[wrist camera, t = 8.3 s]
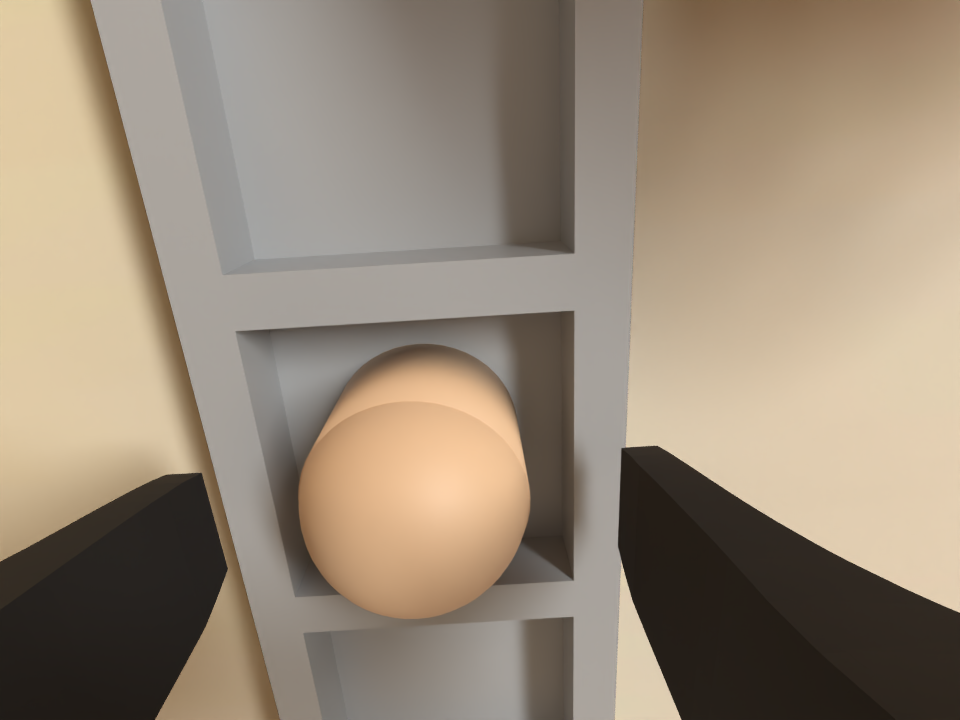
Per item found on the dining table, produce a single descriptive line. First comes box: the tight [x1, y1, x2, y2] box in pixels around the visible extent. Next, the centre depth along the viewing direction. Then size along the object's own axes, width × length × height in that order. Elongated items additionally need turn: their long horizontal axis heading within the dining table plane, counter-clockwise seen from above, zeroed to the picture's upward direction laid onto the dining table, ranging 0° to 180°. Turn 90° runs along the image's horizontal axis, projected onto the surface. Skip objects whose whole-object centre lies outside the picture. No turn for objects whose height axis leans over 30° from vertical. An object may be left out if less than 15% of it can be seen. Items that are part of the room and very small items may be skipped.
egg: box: [298, 344, 530, 619], centre depth 10 cm, size 4×4×4 cm
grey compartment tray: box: [91, 0, 643, 720], centre depth 12 cm, size 8×22×2 cm, turn 3°
